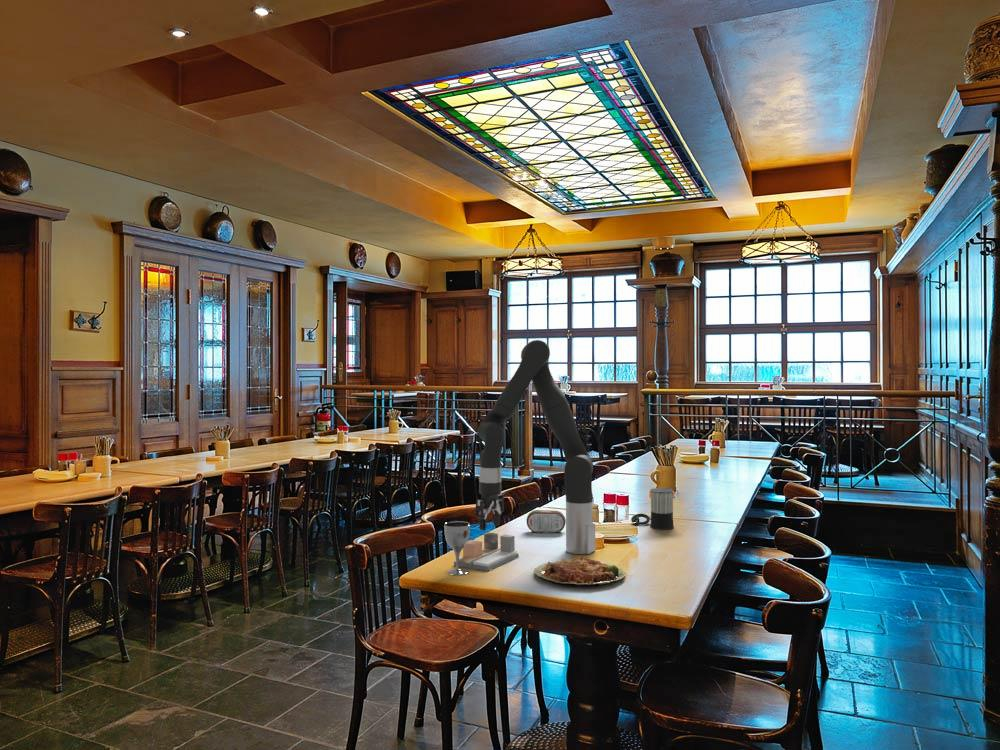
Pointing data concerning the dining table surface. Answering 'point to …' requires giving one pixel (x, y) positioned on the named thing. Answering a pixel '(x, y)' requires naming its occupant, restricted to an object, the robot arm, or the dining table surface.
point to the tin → (545, 521)
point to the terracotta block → (472, 549)
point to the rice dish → (579, 571)
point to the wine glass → (457, 541)
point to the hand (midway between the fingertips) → (489, 527)
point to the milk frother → (659, 509)
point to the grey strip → (499, 552)
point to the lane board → (488, 566)
